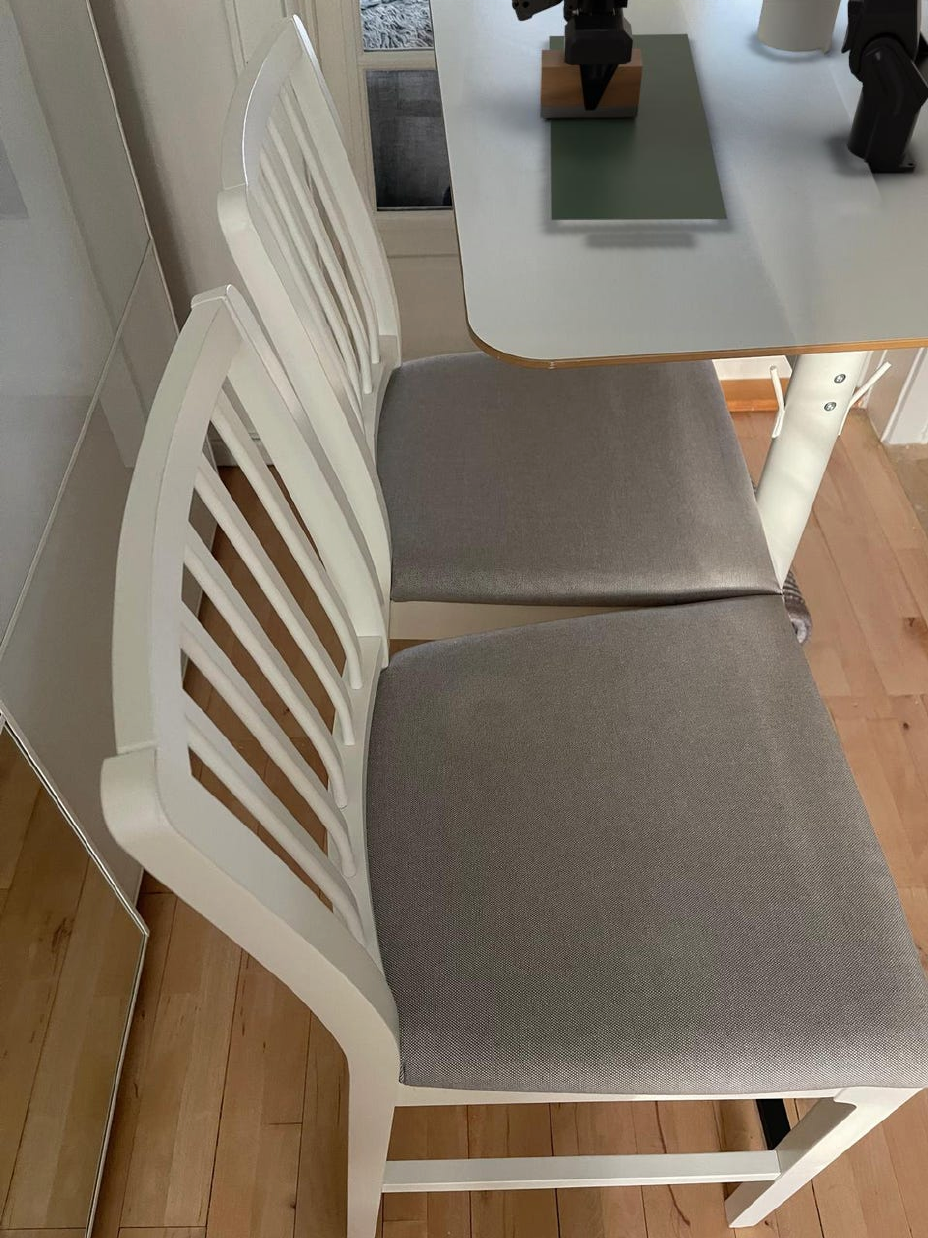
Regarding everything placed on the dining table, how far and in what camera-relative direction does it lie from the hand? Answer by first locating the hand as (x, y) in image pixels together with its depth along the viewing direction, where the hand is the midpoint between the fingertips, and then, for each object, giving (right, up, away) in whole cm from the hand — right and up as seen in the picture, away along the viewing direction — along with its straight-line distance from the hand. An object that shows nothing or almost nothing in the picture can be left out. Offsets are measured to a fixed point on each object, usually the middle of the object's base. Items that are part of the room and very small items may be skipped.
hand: (589, 99), depth 102 cm
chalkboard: (+4, -2, +1) cm, 5 cm away
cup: (+25, +12, +12) cm, 30 cm away
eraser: (0, -1, +1) cm, 1 cm away
